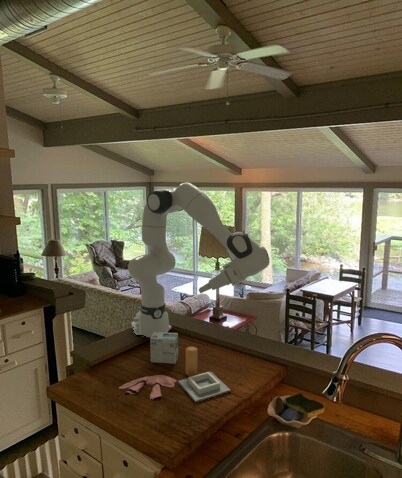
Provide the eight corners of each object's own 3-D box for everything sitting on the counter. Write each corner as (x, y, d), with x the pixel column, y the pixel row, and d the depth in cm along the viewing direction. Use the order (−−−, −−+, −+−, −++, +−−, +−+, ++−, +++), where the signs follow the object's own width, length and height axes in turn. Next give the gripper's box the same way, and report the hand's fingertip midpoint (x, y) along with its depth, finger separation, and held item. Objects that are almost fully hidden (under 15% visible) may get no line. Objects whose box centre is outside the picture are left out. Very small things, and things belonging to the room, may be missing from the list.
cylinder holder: (178, 383, 142) (178, 375, 141) (211, 374, 148) (211, 366, 148) (195, 403, 130) (195, 395, 129) (230, 392, 136) (230, 384, 136)
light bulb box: (178, 356, 162) (178, 332, 160) (175, 364, 156) (175, 339, 154) (153, 354, 163) (153, 331, 161) (150, 362, 157) (149, 338, 155)
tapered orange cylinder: (183, 371, 150) (183, 348, 148) (193, 369, 152) (194, 345, 150) (188, 377, 146) (188, 353, 144) (199, 374, 148) (199, 350, 146)
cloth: (183, 379, 146) (183, 373, 145) (161, 414, 125) (161, 407, 124) (134, 371, 151) (134, 365, 151) (105, 403, 131) (105, 396, 130)
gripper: (226, 267, 158) (196, 282, 158) (228, 266, 138) (194, 284, 138) (233, 280, 158) (203, 296, 158) (236, 282, 137) (202, 300, 137)
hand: (199, 290), depth 147 cm, fingers open, 8 cm apart
